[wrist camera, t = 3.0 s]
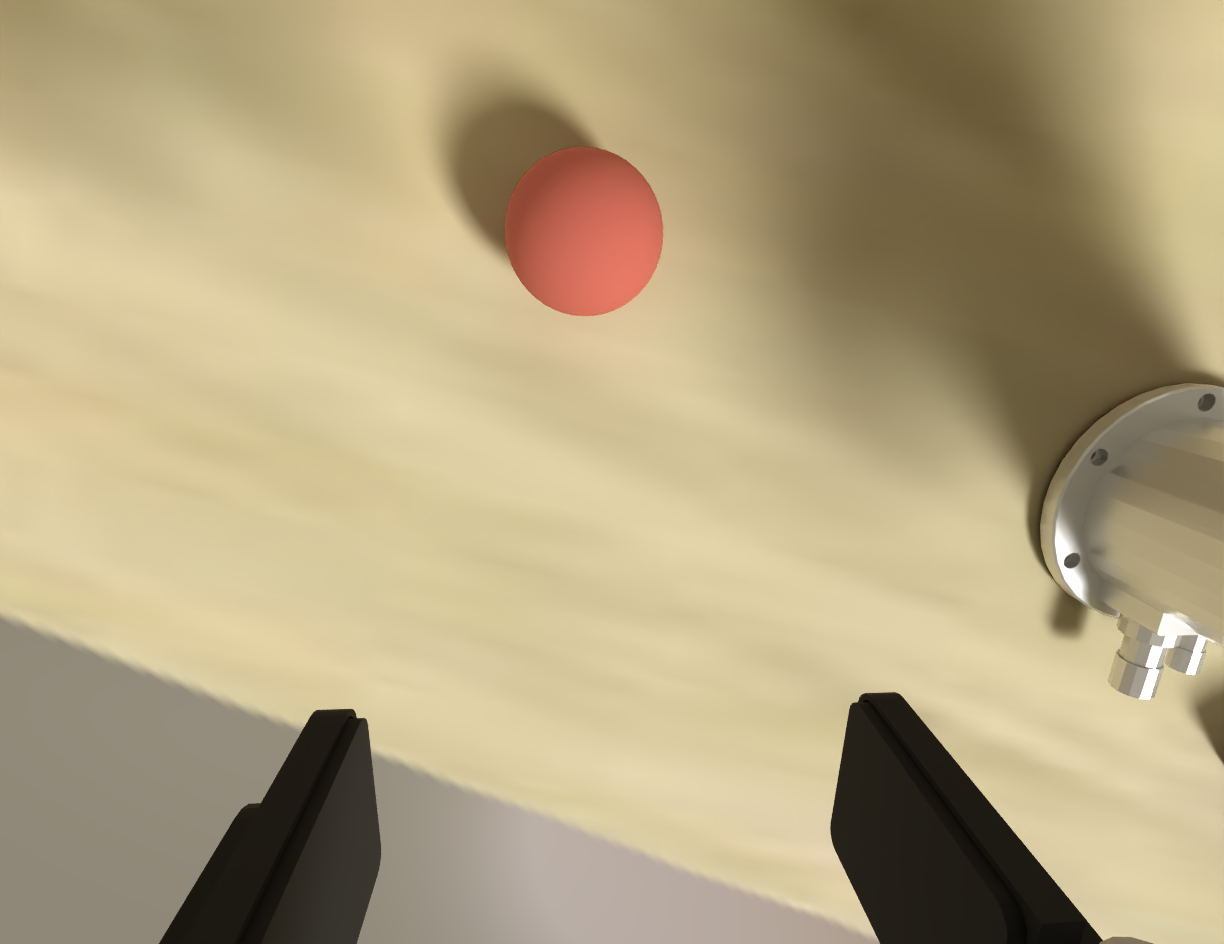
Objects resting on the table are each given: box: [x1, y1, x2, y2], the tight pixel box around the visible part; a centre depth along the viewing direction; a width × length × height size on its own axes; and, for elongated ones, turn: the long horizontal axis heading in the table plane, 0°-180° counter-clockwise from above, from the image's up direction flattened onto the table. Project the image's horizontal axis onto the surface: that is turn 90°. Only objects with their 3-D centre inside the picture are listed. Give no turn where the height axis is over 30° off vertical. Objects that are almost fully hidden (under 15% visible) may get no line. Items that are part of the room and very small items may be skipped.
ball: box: [505, 147, 663, 316], centre depth 24 cm, size 6×6×6 cm
